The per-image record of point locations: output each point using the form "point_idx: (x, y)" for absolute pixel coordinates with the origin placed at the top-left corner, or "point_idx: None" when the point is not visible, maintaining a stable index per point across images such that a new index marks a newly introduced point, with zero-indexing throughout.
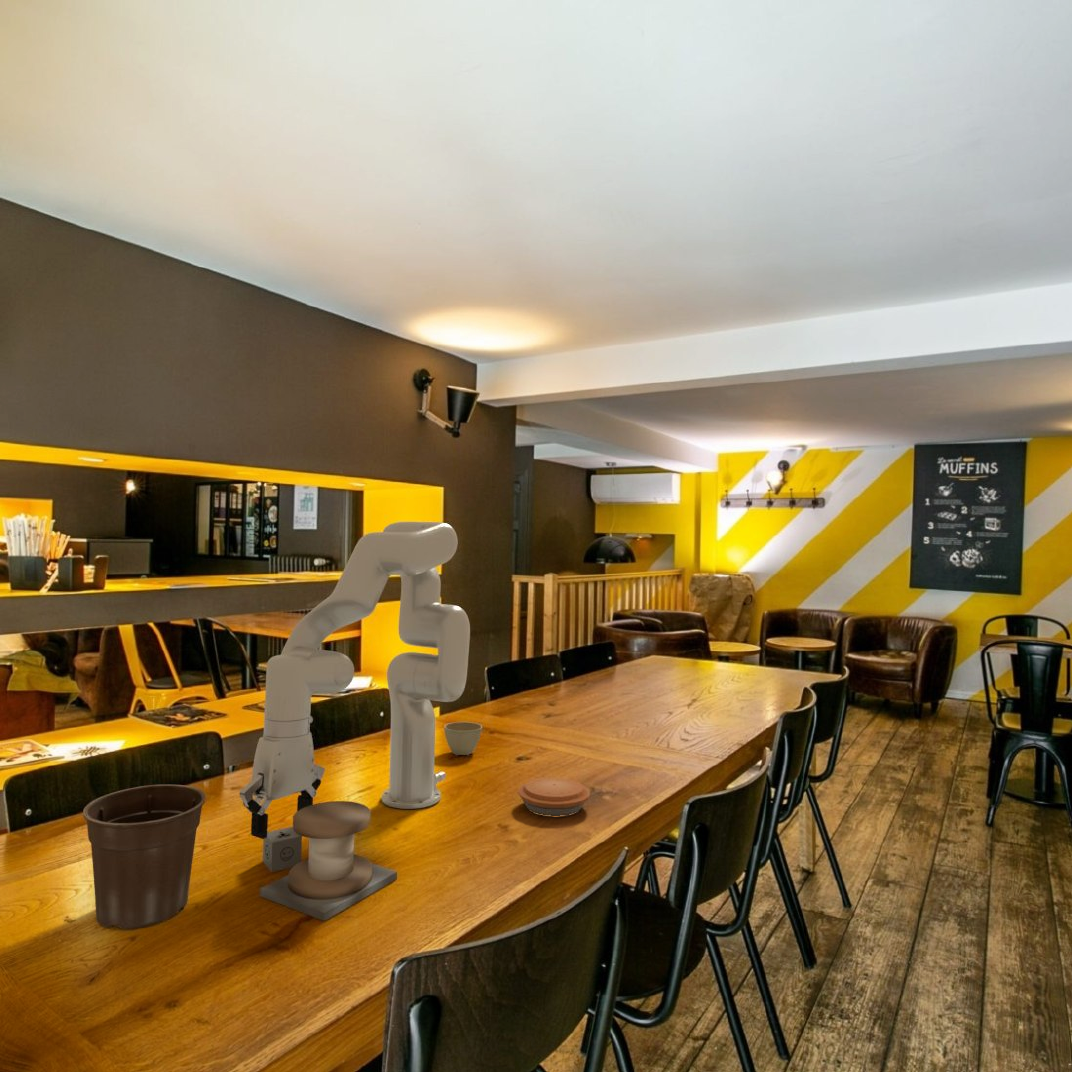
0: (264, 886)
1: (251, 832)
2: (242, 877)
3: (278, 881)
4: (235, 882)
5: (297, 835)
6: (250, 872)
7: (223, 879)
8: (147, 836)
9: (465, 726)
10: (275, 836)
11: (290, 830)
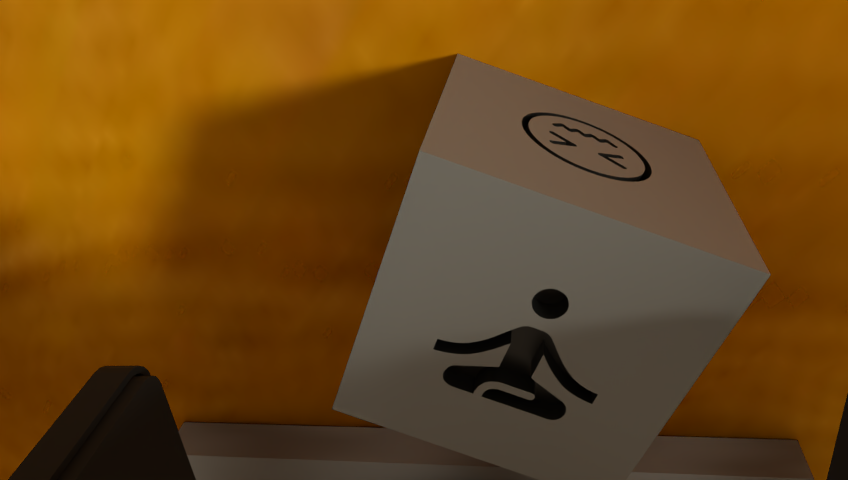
0: (192, 455)
1: (93, 382)
2: (206, 167)
3: (277, 474)
4: (141, 191)
5: (596, 468)
6: (283, 146)
7: (91, 86)
8: None
9: None
10: (442, 331)
11: (659, 336)
